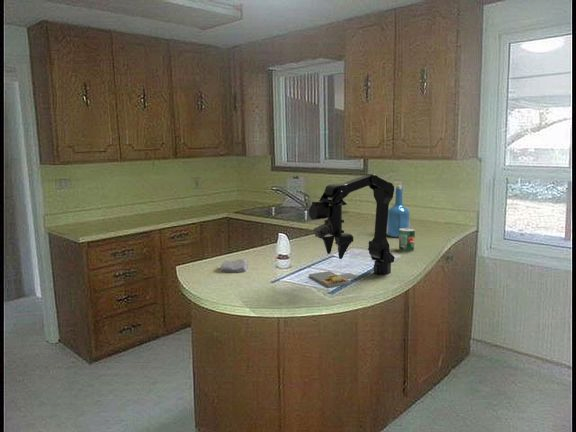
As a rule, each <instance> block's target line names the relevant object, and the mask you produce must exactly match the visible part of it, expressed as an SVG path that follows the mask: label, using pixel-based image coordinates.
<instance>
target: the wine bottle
mask: <svg viewBox="0 0 576 432" xmlns="http://www.w3.org/2000/svg"><path fill="white" fill-rule="evenodd" d="M394 194H395V195H394V196H395V199H394V204H393V205H392V206H391V207H389V208H388V221H387V235H386V236H387V237H391V238H396V239H397V238H399V229H401V228H411V227H410V226H411V225H410V224H411V219H410V218H411V211H410V209H409V208H408V207H407V206H404V204H403V188H402V185H396V187H395V191H394Z"/></svg>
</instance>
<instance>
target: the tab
mask: <svg viewBox="0 0 576 432" xmlns="http://www.w3.org/2000/svg"><path fill="white" fill-rule="evenodd" d="M338 275H339V276H341V277H343V278H345V279H347V280H351V279H357V278H359V276H358V275H355V274H353V273H351V272H346V273H341V274H338Z"/></svg>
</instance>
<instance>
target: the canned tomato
mask: <svg viewBox="0 0 576 432" xmlns="http://www.w3.org/2000/svg"><path fill="white" fill-rule="evenodd" d="M415 232H416V229H415V228H412V227H410V228H401V229H399V239H398V250H399V252H402V253H403V252H404V253H413V252H414V251H415V244H416V243H415V241H416V235H415Z"/></svg>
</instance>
